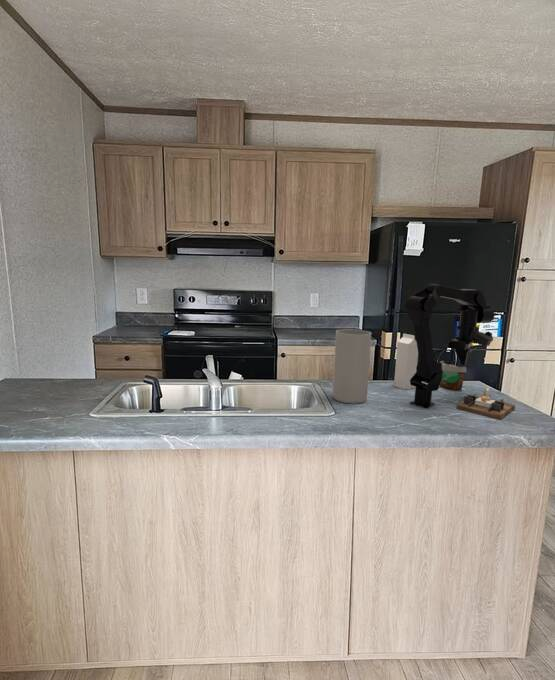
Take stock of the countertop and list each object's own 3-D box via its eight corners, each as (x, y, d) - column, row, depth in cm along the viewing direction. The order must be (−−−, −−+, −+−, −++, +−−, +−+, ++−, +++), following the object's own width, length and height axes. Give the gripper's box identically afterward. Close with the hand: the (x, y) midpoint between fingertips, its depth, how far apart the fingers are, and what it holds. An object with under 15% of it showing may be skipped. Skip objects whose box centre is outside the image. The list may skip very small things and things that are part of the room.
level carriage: (489, 408, 134) (491, 392, 133) (474, 404, 138) (476, 388, 137) (494, 404, 138) (496, 389, 137) (479, 401, 141) (481, 386, 140)
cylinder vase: (373, 399, 146) (378, 332, 142) (352, 406, 138) (357, 336, 133) (346, 391, 155) (350, 328, 151) (325, 397, 147) (328, 331, 143)
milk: (404, 390, 159) (409, 336, 155) (393, 386, 164) (397, 333, 160) (415, 388, 162) (420, 335, 158) (404, 384, 167) (408, 332, 163)
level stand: (499, 419, 129) (501, 408, 128) (456, 408, 139) (457, 397, 138) (514, 408, 140) (516, 397, 139) (473, 399, 150) (474, 388, 149)
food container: (429, 384, 168) (431, 361, 166) (440, 383, 170) (442, 360, 169) (453, 392, 157) (456, 368, 155) (464, 391, 159) (467, 367, 158)
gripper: (482, 328, 133) (476, 373, 136) (500, 324, 146) (495, 365, 149) (448, 324, 141) (444, 367, 144) (469, 321, 154) (464, 360, 157)
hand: (463, 365), depth 148 cm, fingers closed
